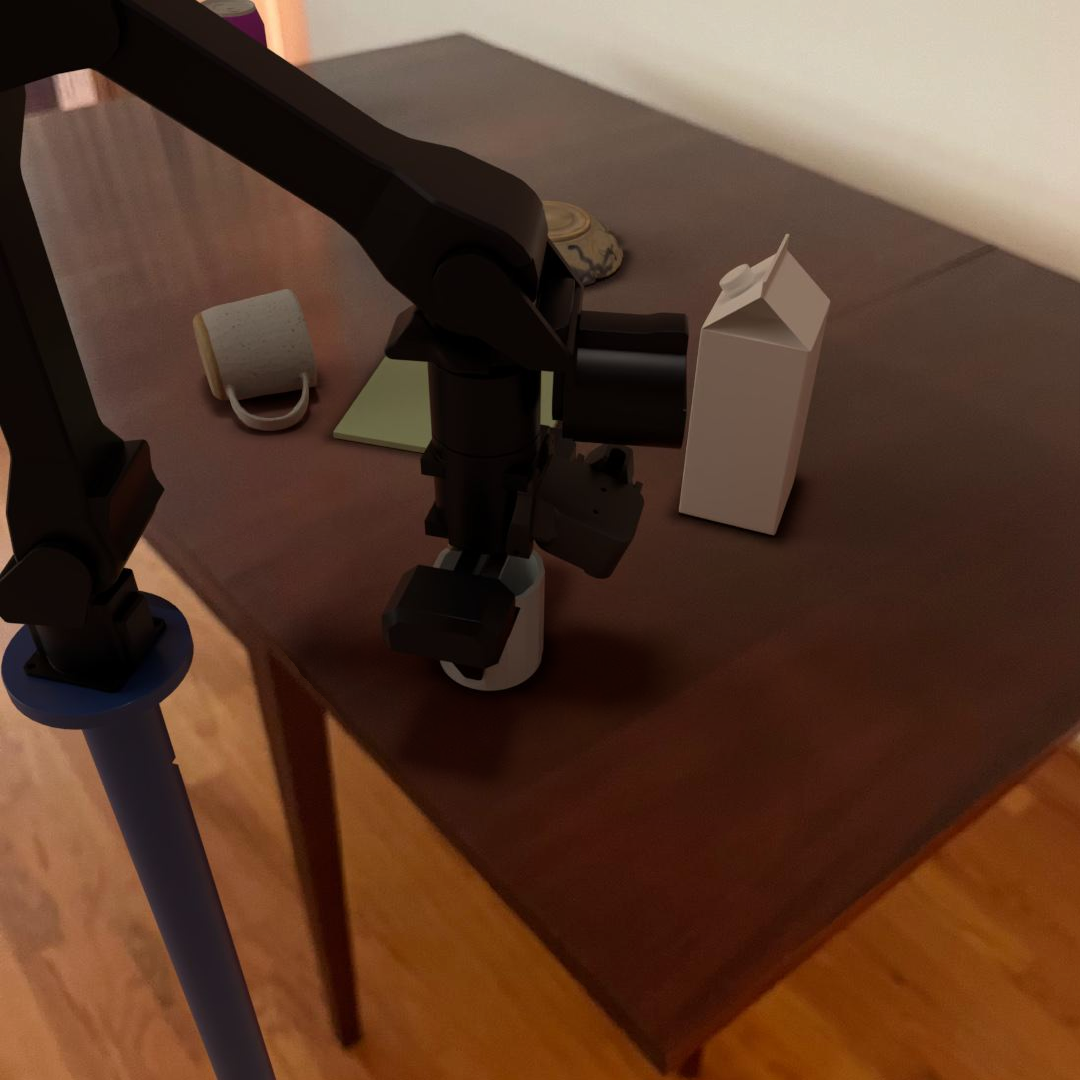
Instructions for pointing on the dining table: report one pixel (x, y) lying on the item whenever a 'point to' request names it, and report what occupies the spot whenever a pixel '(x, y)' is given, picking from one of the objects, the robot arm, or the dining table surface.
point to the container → (528, 627)
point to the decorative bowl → (582, 241)
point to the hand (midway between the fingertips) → (490, 637)
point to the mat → (406, 407)
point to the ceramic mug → (257, 353)
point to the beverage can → (240, 16)
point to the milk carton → (753, 393)
